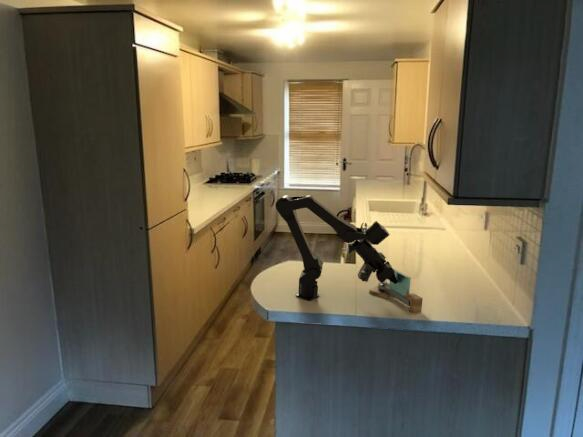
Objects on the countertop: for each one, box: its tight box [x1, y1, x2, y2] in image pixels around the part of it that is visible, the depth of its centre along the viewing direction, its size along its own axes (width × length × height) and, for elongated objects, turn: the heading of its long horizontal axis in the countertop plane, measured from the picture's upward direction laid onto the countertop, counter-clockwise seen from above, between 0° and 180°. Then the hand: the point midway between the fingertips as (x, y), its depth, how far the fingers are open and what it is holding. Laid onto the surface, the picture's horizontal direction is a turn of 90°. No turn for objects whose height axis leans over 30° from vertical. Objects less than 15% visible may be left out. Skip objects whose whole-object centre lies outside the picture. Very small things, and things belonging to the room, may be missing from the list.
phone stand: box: [359, 222, 373, 246], centre depth 236 cm, size 9×6×12 cm, turn 77°
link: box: [377, 268, 411, 307], centre depth 167 cm, size 19×4×10 cm, turn 24°
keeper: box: [405, 292, 424, 315], centre depth 159 cm, size 5×4×5 cm
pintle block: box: [368, 285, 393, 300], centre depth 174 cm, size 8×8×1 cm
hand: (396, 282), depth 165 cm, fingers closed
